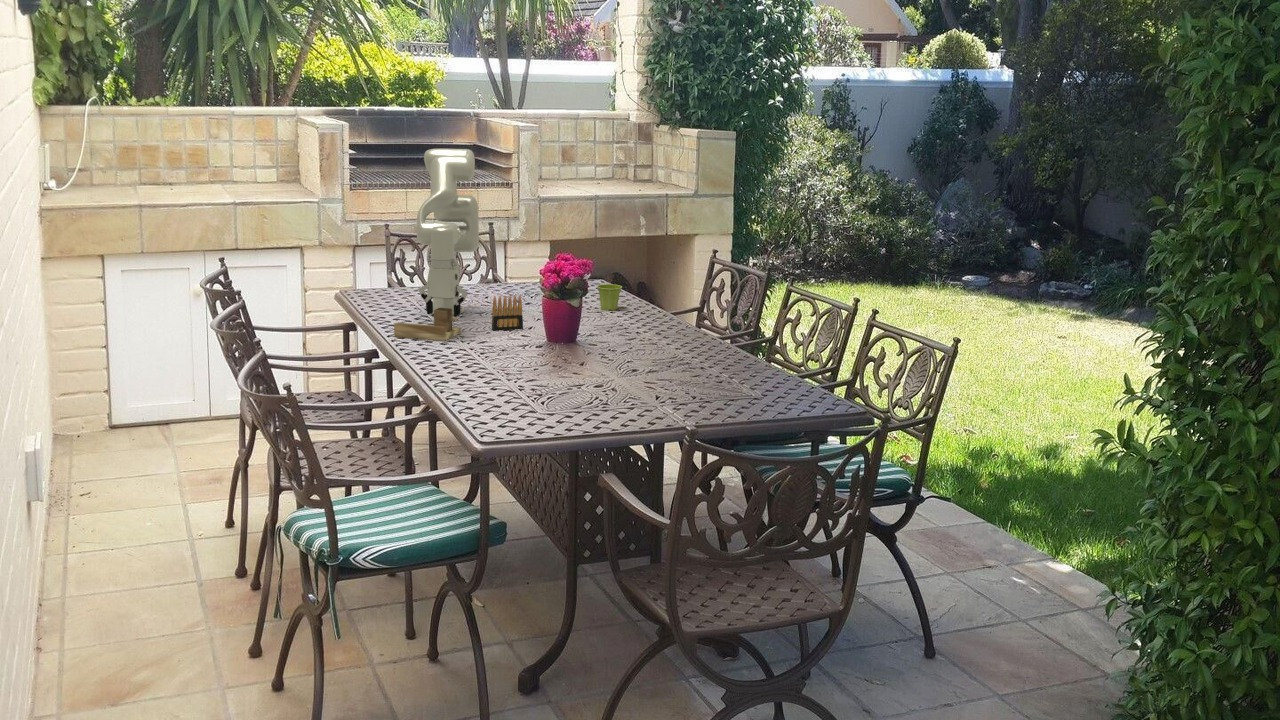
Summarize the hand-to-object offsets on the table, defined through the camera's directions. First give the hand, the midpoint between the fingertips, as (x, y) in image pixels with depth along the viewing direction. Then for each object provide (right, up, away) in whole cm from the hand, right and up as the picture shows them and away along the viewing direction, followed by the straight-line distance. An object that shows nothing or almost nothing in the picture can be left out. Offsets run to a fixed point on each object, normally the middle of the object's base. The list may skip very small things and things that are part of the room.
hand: (443, 314), depth 424 cm
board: (-5, -7, +2) cm, 9 cm away
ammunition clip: (+20, -5, +14) cm, 25 cm away
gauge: (+1, -4, +4) cm, 6 cm away
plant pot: (+54, +4, +54) cm, 76 cm away
